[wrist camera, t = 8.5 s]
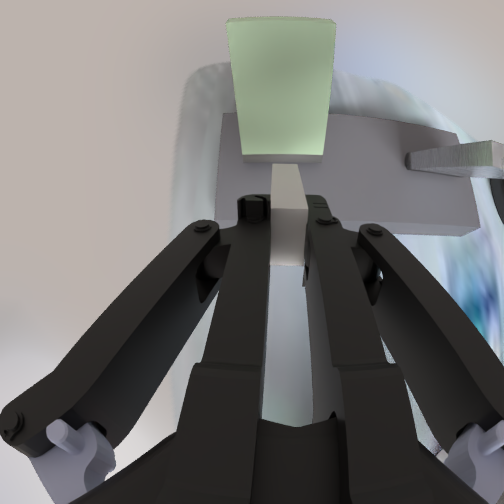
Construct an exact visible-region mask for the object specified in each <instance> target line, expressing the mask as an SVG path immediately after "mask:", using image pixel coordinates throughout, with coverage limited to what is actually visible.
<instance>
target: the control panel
mask: <svg viewBox="0 0 504 504" xmlns="http://www.w3.org/2000/svg"><path fill="white" fill-rule="evenodd" d="M459 144H460V143H459V140H458V137H457V135H456V134H455V133H451V132H447V131H443V130H439V129H435V128H430V127H426V126H421V125H416V124H410V123H405V122H399V121H393V120H386V119H380V118H372V117H364V116H355V115H344V114H332V113H328V119H327V127H326V135H325V142H324V150H323V158H322V163H289V162H263V163H243V156H242V148H241V140H240V132H239V124H238V116H237V113H223V119H222V129H221V140H220V151H219V163H218V175H217V188H216V202H215V218H214V220H215V222H217V223H218V224H219V228H220V229H224V228H229V227H232V226H235V225H237V221H238V210H237V200H238V199H239V198H240V197H242V196H245V195H251V194H271V181H272V164H297V165H298V169H299V173H300V177H301V181H302V185H303V189H304V193H305V195H321V196H322V197H324V198H325V199H326V201H327V203H328V206H329V209H330V211H331V214H332V216H334V217H336V218H338V219H339V221H340V222H341V224H342V227H343V228H344V229H347V230H350V231H355V232H359V228H360V226H361V225H362V224H367V223H370V224H371V223H375V224H379V225H380V226H382V227H384V228H386V229H387V230H388V231H389V232H390V233H391V234H413V235H441V236H463V235H466V234H468V233H470V232H472V231H474V230H476V229H478V228H480V222H479V216H478V211H477V206H476V201H475V196H474V192H473V188H472V184H471V180H470V177H461V178H458V177H452V176H446V175H440V174H433V173H427V172H419V171H411V170H407V169H406V167H405V156H406V154H407V153H408V152H411V153H412V152H417V151H423V150H428V149H434V148H440V147H446V146H453V145H459Z"/></svg>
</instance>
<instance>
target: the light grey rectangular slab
mask: <svg viewBox="0 0 504 504" xmlns="http://www.w3.org/2000/svg"><path fill="white" fill-rule="evenodd" d="M405 167H406V169H407V170H411V171H419V172H427V173H433V174H440V175H446V176H452V177H458V178H461V177H477V178H496V179H504V145H503V144H501V143H498V142H495V141H492V140H489V141H482V142H473V143H466V144H459V145H453V146H446V147H440V148H434V149H428V150H423V151H417V152H412V153H411V152H408V153H407V154H406V156H405Z"/></svg>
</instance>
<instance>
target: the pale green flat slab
mask: <svg viewBox="0 0 504 504" xmlns="http://www.w3.org/2000/svg"><path fill="white" fill-rule="evenodd" d="M226 29H227V36H228V45H229V52H230V61H231V68H232V76H233V84H234V92H235V100H236V108H237V116H238V124H239V132H240V140H241V148H242V156H243V163H263V162H289V163H322V158H323V150H324V142H325V135H326V127H327V119H328V111H329V102H330V93H331V83H332V73H333V62H334V48H335V35H336V23H335V22H333V21H332V20H330V19H320V18H306V17H246V18H232V19H228V21H227V22H226Z"/></svg>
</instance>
